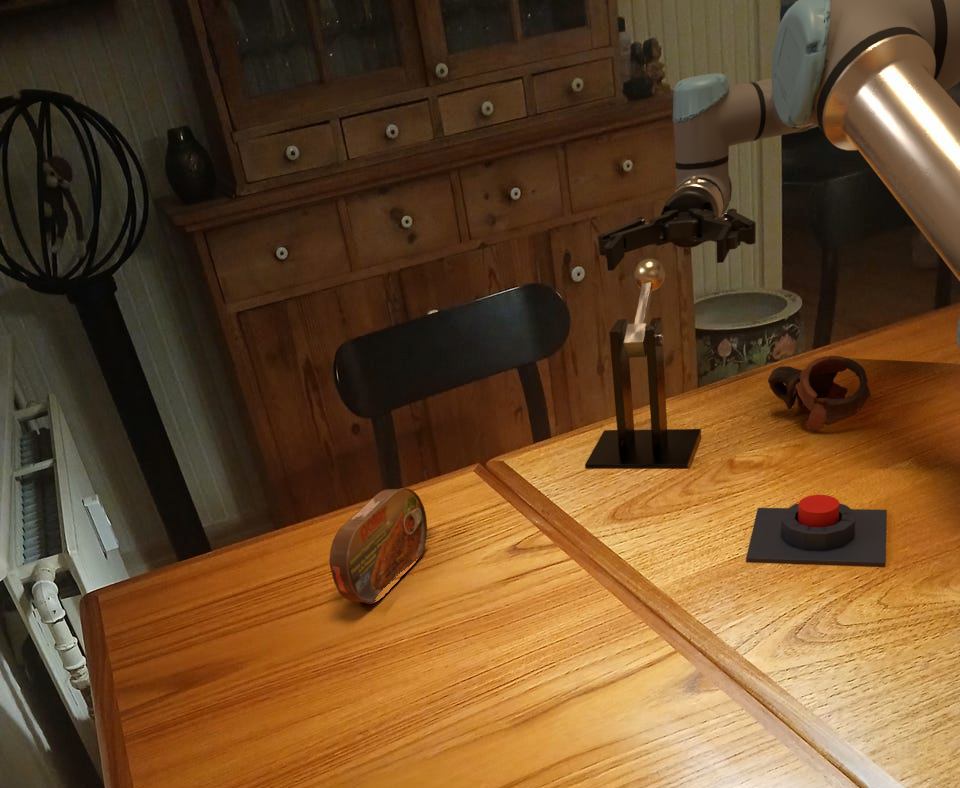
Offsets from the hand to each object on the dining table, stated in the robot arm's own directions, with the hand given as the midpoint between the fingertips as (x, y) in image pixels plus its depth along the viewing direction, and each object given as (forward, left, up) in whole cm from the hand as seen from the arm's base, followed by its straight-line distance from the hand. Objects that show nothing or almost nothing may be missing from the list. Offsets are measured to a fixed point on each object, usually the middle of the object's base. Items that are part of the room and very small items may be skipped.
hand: (663, 255), depth 121 cm
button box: (-21, +40, -19) cm, 49 cm away
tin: (+21, +48, -19) cm, 56 cm away
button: (-21, +40, -15) cm, 48 cm away
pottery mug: (-19, +7, -19) cm, 28 cm away
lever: (0, +13, -4) cm, 13 cm away
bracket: (0, +18, -19) cm, 26 cm away
